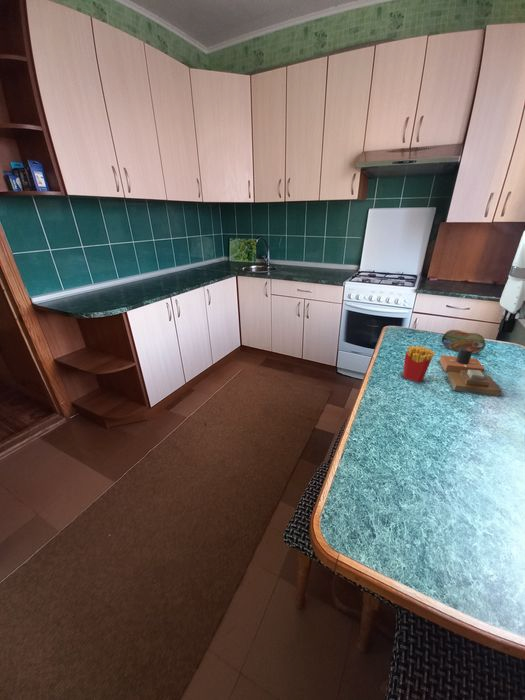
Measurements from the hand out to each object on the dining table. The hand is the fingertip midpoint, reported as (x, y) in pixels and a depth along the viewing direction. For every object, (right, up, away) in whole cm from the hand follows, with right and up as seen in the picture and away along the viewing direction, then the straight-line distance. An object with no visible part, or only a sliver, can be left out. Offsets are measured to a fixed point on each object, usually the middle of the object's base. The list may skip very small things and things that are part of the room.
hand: (504, 331), depth 92 cm
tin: (+7, -6, +31) cm, 33 cm away
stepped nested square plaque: (-5, -18, +7) cm, 20 cm away
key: (-5, -15, +6) cm, 17 cm away
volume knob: (-2, -10, +16) cm, 19 cm away
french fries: (-22, -16, +13) cm, 30 cm away
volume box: (-2, -13, +18) cm, 22 cm away
